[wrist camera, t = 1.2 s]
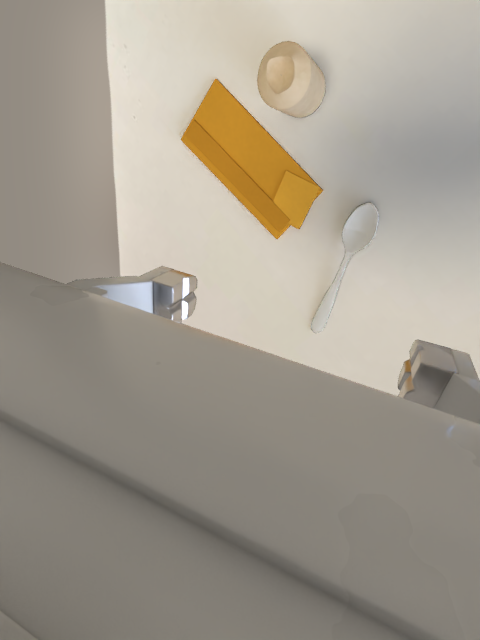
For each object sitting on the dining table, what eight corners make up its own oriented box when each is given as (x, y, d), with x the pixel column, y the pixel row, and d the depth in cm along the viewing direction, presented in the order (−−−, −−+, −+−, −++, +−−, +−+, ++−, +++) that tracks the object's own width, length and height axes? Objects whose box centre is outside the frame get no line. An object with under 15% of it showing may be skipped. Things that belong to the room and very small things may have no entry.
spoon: (388, 206, 41) (388, 208, 40) (327, 337, 52) (325, 342, 50) (356, 196, 42) (354, 197, 41) (302, 327, 53) (300, 331, 51)
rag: (217, 78, 42) (214, 76, 42) (330, 197, 43) (329, 197, 42) (182, 139, 48) (178, 139, 47) (283, 245, 48) (281, 246, 47)
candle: (272, 90, 41) (241, 73, 32) (308, 50, 38) (284, 20, 29) (298, 128, 41) (274, 121, 33) (335, 91, 38) (319, 73, 30)
